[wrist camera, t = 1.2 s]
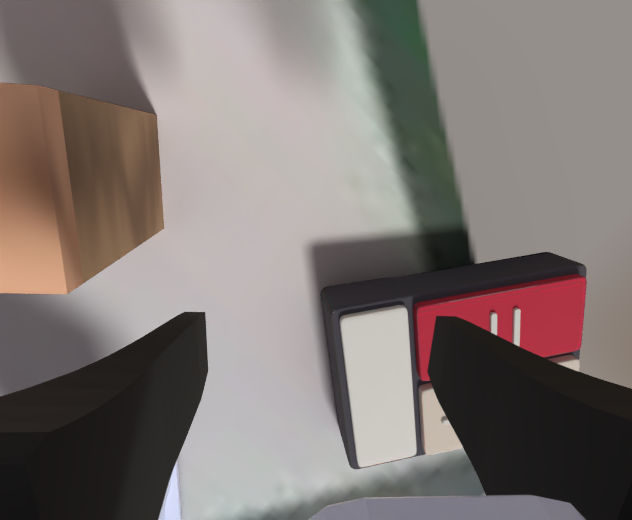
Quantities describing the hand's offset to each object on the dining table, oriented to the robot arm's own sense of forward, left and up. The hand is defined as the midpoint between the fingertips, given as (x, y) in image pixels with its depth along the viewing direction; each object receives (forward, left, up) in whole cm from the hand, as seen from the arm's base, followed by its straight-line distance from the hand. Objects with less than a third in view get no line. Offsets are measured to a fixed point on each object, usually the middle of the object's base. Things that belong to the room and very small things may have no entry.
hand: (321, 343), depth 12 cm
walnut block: (+4, +10, -11) cm, 15 cm away
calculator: (-6, -10, -12) cm, 16 cm away
